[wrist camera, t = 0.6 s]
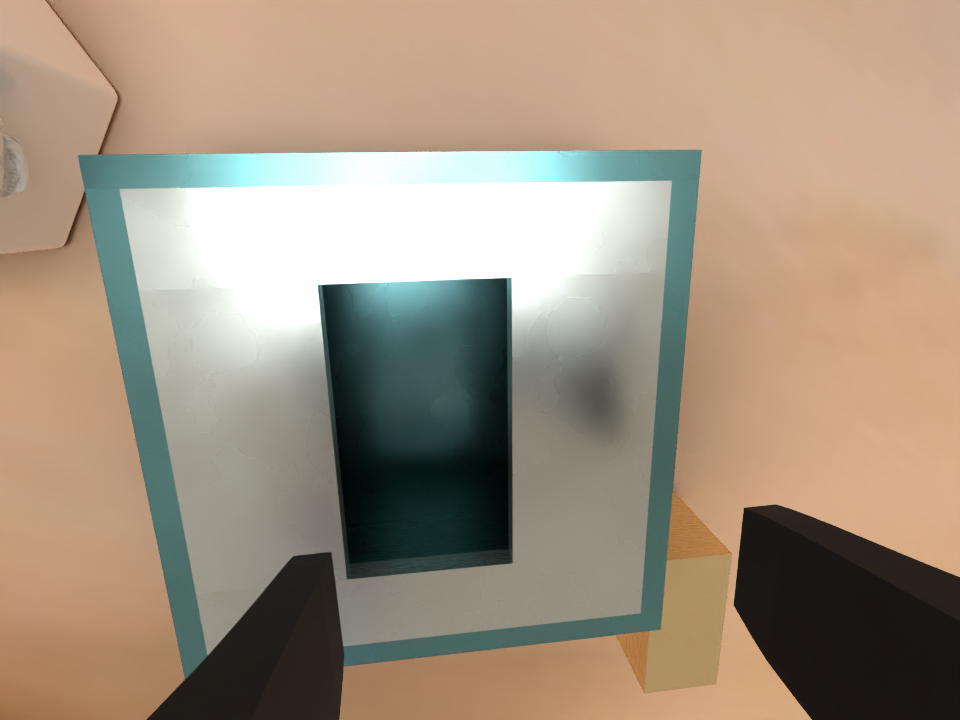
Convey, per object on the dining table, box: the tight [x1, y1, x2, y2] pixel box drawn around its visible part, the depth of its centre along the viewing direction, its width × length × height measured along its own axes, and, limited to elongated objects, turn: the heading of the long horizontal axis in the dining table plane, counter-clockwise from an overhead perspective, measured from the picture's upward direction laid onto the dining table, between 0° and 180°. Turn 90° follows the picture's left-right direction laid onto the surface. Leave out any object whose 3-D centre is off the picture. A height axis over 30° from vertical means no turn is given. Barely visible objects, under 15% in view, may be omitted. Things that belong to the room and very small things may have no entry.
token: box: [616, 491, 732, 693], centre depth 19 cm, size 5×2×4 cm, turn 1°
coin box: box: [78, 150, 702, 679], centre depth 15 cm, size 12×12×6 cm
